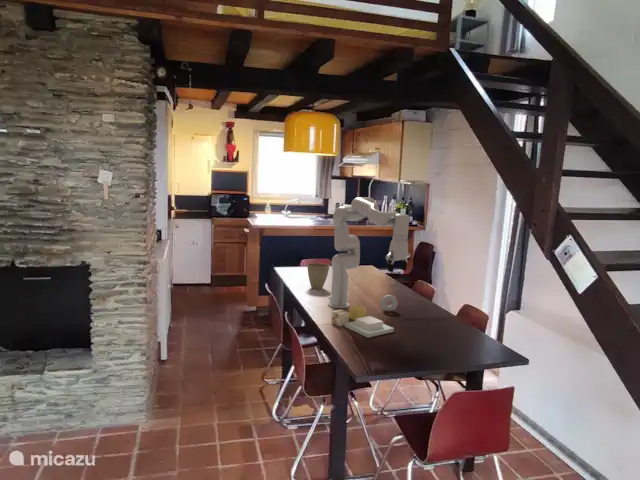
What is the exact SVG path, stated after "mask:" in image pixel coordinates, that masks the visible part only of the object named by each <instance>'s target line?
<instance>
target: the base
mask: <svg viewBox="0 0 640 480" xmlns="http://www.w3.org/2000/svg"><path fill="white" fill-rule="evenodd" d="M344 328H346V329H348V330H350V331H353V332H355V333H357V334H358V335H361V336H363V337H366V338H372V337H377V336H381V335H386V334H390V333H394V332H395V331H394V330H395V328H394V327H392V326H389V325H387V324H385V323H384V320H381V319H379V318H376V317H374V316H371V315H368V316H367V315H366V317H362V318H356V321H355V320H352V321H349V322H347V323H345V325H344Z"/></svg>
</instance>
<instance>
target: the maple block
mask: <svg viewBox="0 0 640 480" xmlns="http://www.w3.org/2000/svg"><path fill="white" fill-rule="evenodd" d="M347 322H350V318H349V311H346V310H344V309H335V310H332V311H331V322H330V323H331V324H333V325H336V326H338V327H342V326H345V323H347Z"/></svg>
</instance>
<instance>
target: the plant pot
mask: <svg viewBox="0 0 640 480" xmlns="http://www.w3.org/2000/svg"><path fill="white" fill-rule="evenodd" d="M329 271H330V265H329V264H326V263H320V262H319V263H318V262H310V263H307V273H308V274H307V275H308V281H309V284H310V288H311V289H312V290H317V289H319V290H322V289H323V288H324V285H325V283H326V281H327V277H328V276H329V275H328V274H329Z"/></svg>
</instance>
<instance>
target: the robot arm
mask: <svg viewBox="0 0 640 480" xmlns="http://www.w3.org/2000/svg"><path fill="white" fill-rule="evenodd" d="M350 204H351V205H347V206H338V207H337V208H336V209H335V210H334V211H333V215H332V220H333V227H334V232H333V233H334V235H333V236H334V249H335V250H336V251H338V252H344V253H337V254H335V255H333V257H331V267H332V268H331V269H332V275H331V277H332V278H331V279H332V280H331V294H330V295H329V296H328V297H327V299H329V301H328V303H327V306H329V307H331V308H335V309H348V308H350V303H349V302H348V292H349V291H348V290H349V289H348V288H349V275H348V271H347V270H351V269H352V270H353V269H356V268H358V266H359V265H360V261H361V242H360V239H359V237H358V236H356V235H355V234H350V228H349V225H348V222H352V221H353V222H354V221H355V222H358V221H362V220H363V219H365V218H366V217H367V220H369V222H370V223H372V224H374V225H376V226H378V227H383V228H384V227H393V229H392V231H393V232H392V240H390V244H389V248H388V254H386V255H385V260H386V261H385V262H386V263H387V265H388V267H387V271H388V272H389V273H394V268H395V267H394V266H395V265H394V263H395V262H396V261H401V265H400V266H401V270H402V271H407V266H408V263H409V260H410V258H411V256H412V254H411V253H410V252H409V243H408V242H409V241H408V238H409V226H410V215H409V214H406V213H400V212H397V211H380V208H379V205H378V204H377V202H376V201H375V199H374V198H373V197H369V196H368V197H366V196H363V197H362V196H358V197H355V198H354V199H352V201H351V203H350Z"/></svg>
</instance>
